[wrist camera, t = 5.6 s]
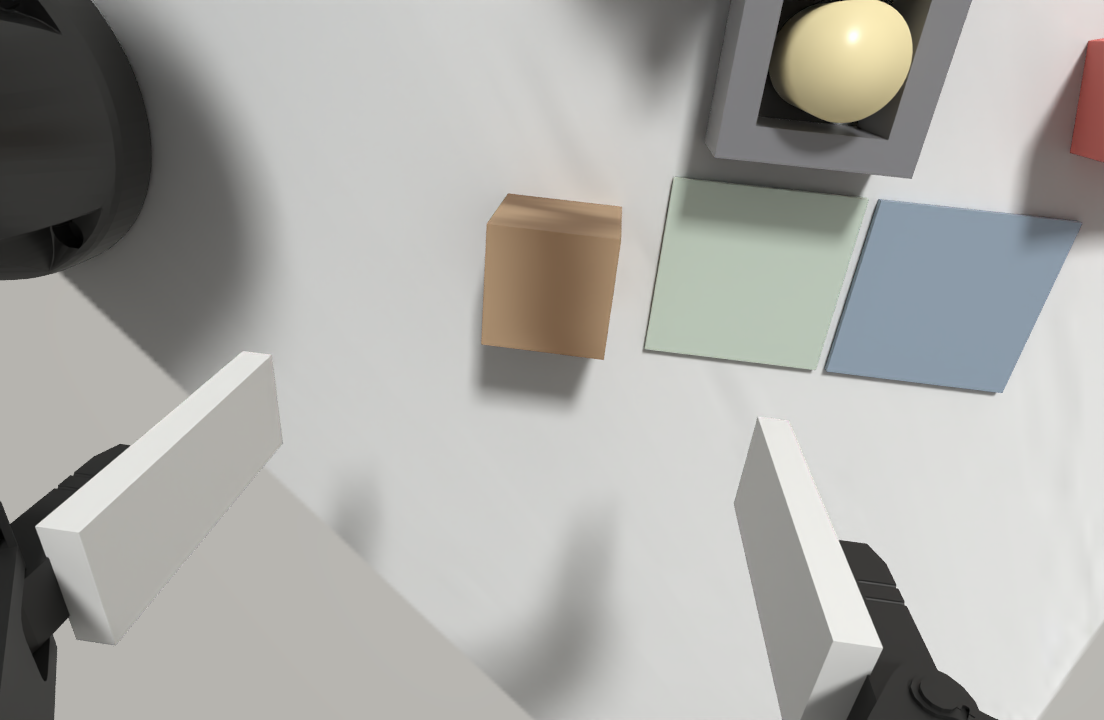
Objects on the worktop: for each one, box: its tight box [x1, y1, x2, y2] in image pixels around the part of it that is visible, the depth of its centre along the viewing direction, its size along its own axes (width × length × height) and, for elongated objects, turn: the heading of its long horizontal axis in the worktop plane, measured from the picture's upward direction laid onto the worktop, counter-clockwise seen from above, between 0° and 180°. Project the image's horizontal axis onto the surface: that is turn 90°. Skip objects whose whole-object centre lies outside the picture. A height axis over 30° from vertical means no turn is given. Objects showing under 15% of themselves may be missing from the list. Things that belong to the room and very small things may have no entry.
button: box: [769, 0, 912, 123], centre depth 22 cm, size 4×4×4 cm
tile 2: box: [825, 199, 1082, 393], centre depth 28 cm, size 8×8×1 cm
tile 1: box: [645, 177, 869, 370], centre depth 29 cm, size 8×8×1 cm
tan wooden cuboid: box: [481, 194, 622, 360], centre depth 27 cm, size 5×5×5 cm
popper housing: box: [704, 0, 972, 179], centre depth 23 cm, size 7×7×4 cm
